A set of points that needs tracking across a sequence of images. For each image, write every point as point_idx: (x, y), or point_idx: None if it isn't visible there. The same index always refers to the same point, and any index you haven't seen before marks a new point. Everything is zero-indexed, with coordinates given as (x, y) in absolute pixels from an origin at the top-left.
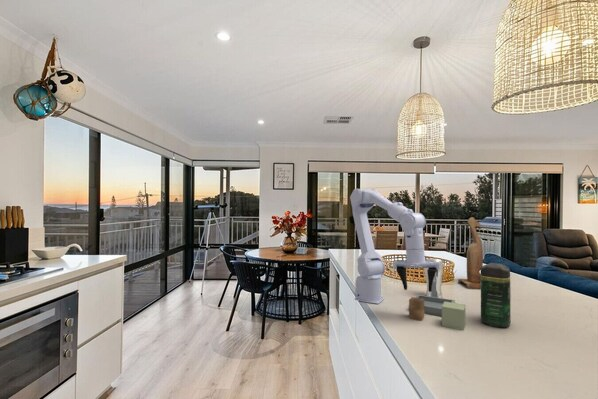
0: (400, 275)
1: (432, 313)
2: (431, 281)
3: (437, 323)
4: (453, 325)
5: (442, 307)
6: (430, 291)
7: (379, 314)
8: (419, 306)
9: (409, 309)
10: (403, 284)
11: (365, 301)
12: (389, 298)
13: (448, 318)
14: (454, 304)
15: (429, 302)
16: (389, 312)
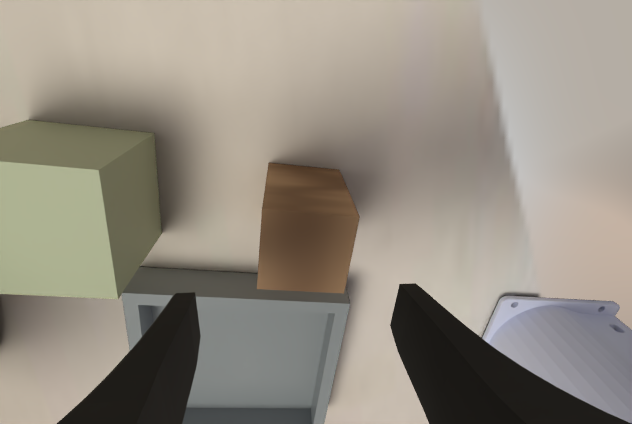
0: (542, 387)
1: (229, 276)
2: (116, 371)
3: (184, 159)
4: (80, 129)
5: (96, 166)
6: (178, 293)
7: (501, 156)
8: (281, 195)
9: (345, 189)
10: (445, 312)
11: (565, 299)
12: None
13: (91, 142)
14: (33, 263)
15: (262, 397)
16: (445, 211)
